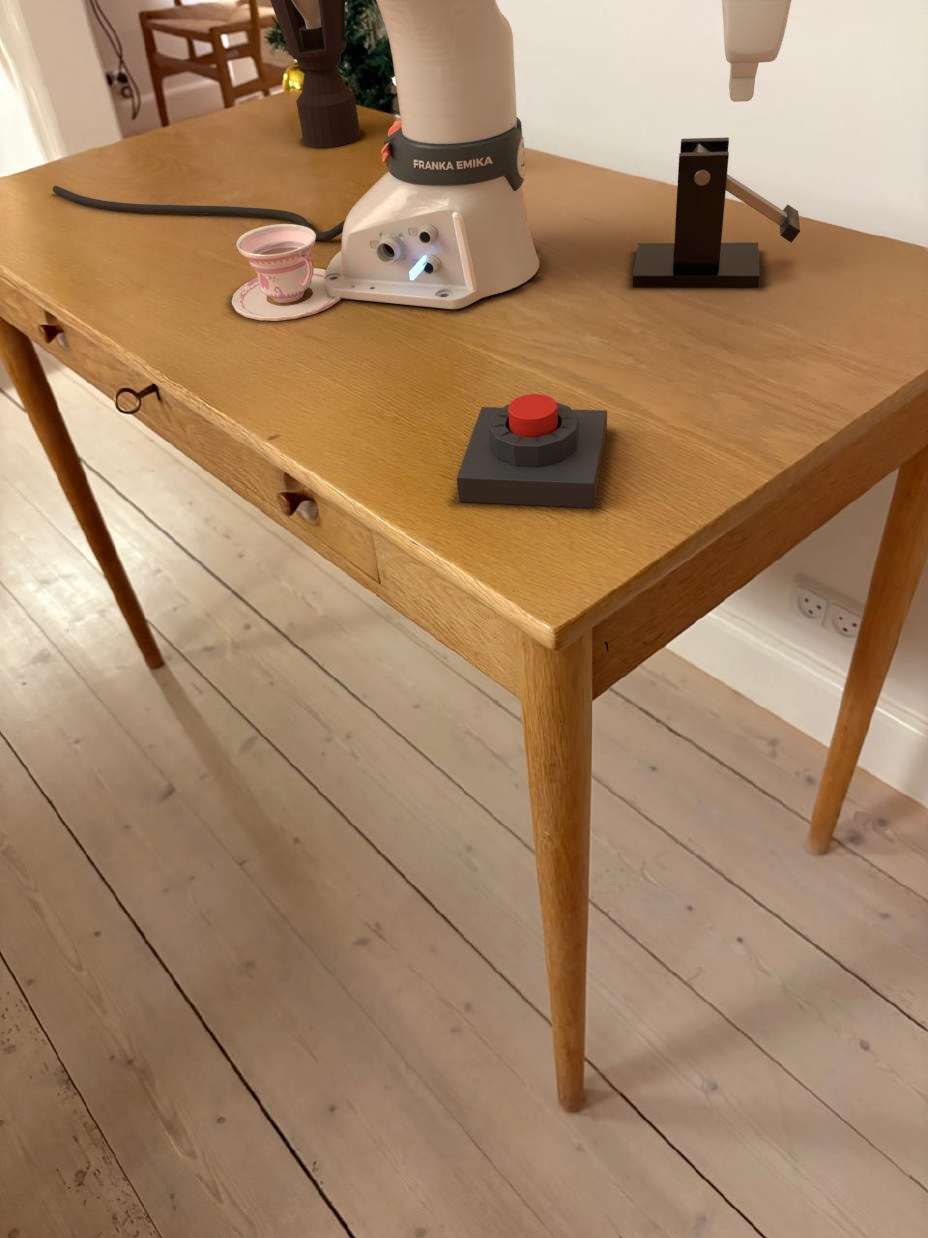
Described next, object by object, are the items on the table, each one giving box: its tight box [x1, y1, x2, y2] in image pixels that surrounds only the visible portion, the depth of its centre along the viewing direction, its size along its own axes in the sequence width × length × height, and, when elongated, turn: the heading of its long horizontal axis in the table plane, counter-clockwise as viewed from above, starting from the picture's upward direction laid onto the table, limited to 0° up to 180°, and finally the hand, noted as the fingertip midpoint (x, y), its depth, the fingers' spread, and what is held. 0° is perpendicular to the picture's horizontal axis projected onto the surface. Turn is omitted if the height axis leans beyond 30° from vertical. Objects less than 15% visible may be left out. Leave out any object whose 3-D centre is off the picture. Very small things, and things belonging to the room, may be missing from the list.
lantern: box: [269, 0, 361, 149], centre depth 134 cm, size 15×15×30 cm
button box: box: [456, 401, 608, 509], centre depth 76 cm, size 10×10×4 cm
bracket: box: [631, 137, 761, 289], centre depth 97 cm, size 12×8×12 cm, turn 79°
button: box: [508, 393, 558, 437], centre depth 74 cm, size 4×4×2 cm
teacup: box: [231, 223, 342, 322], centre depth 103 cm, size 12×12×6 cm
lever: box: [693, 144, 801, 243], centre depth 95 cm, size 12×5×2 cm
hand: (740, 96), depth 80 cm, fingers closed
